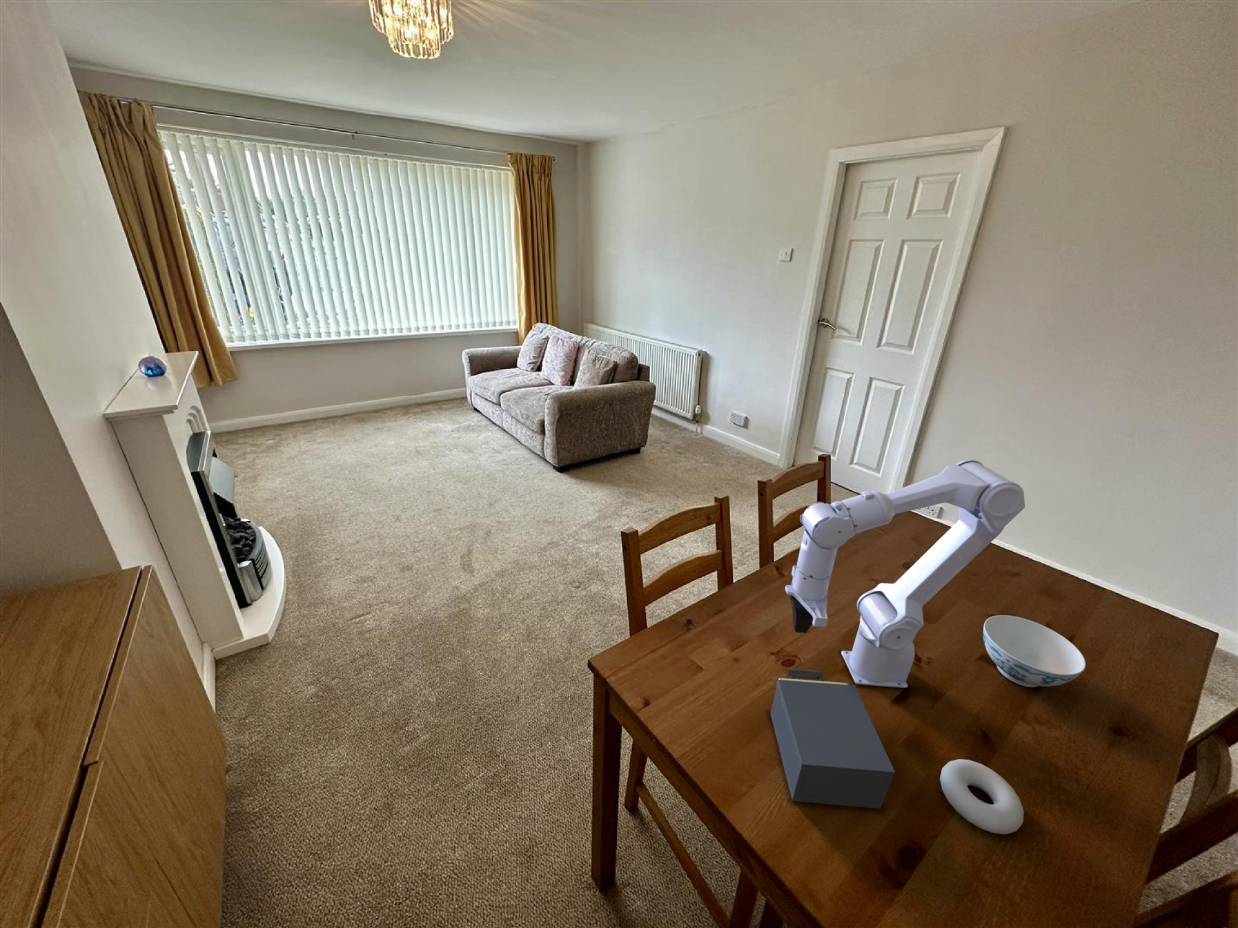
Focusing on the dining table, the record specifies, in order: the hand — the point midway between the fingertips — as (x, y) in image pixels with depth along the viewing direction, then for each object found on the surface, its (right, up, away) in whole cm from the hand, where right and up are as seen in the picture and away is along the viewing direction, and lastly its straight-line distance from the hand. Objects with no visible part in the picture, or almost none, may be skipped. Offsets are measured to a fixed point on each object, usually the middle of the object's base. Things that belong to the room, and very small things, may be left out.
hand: (800, 630), depth 89 cm
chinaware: (+44, -10, +4) cm, 45 cm away
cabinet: (-2, -16, -13) cm, 20 cm away
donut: (+19, -19, -18) cm, 33 cm away
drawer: (-1, -13, -9) cm, 17 cm away
